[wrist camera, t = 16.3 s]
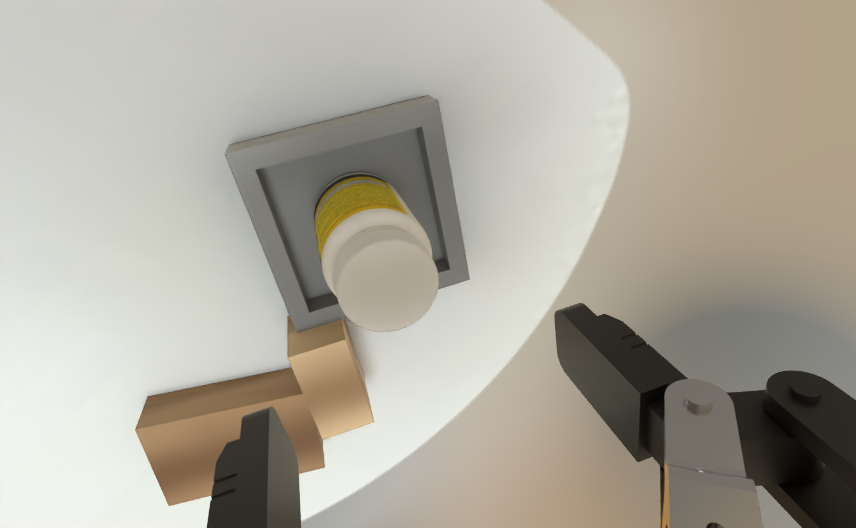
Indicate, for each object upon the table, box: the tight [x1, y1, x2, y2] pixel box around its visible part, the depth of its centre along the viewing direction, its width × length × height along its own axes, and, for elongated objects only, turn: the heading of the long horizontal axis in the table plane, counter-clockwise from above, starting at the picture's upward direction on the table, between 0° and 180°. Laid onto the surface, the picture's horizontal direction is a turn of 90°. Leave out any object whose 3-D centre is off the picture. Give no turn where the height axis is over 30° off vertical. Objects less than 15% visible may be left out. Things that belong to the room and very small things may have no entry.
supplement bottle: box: [314, 172, 439, 332], centre depth 22 cm, size 5×5×8 cm
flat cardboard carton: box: [135, 368, 325, 506], centre depth 29 cm, size 6×9×3 cm, turn 93°
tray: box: [225, 95, 470, 333], centre depth 25 cm, size 10×10×2 cm
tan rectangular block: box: [288, 316, 374, 440], centre depth 28 cm, size 6×3×4 cm, turn 11°
